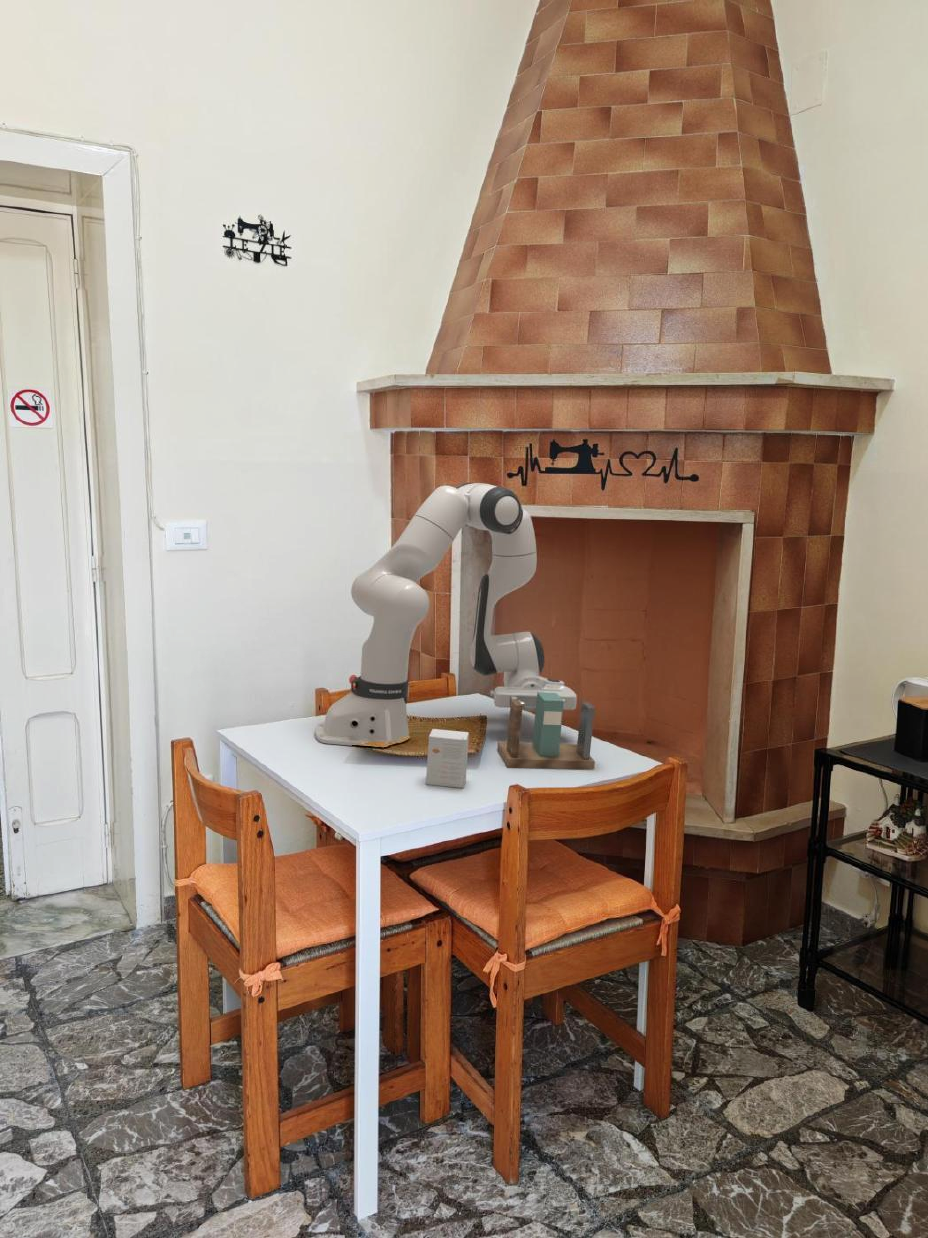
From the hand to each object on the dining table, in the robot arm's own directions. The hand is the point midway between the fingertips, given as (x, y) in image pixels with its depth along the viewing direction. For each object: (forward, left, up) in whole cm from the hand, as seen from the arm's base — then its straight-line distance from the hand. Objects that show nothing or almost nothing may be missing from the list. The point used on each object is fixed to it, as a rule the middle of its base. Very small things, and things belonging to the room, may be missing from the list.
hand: (541, 707), depth 218 cm
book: (0, -8, -8) cm, 11 cm away
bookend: (+8, -10, -8) cm, 15 cm away
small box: (-25, -24, -11) cm, 36 cm away
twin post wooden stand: (0, -8, -10) cm, 13 cm away
